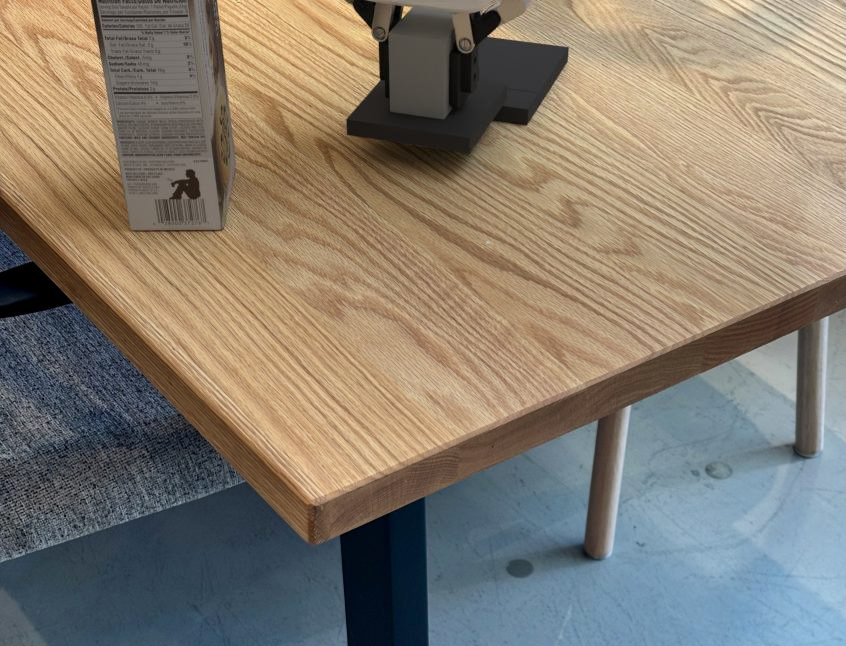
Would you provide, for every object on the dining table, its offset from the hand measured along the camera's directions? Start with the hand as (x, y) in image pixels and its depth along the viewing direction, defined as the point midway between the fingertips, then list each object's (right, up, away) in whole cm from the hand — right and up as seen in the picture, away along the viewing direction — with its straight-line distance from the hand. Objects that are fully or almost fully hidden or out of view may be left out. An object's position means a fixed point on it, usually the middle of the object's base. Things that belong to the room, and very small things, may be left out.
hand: (428, 93), depth 93 cm
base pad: (+4, +4, +10) cm, 11 cm away
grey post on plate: (0, -1, +2) cm, 2 cm away
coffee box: (-17, -8, -4) cm, 19 cm away
